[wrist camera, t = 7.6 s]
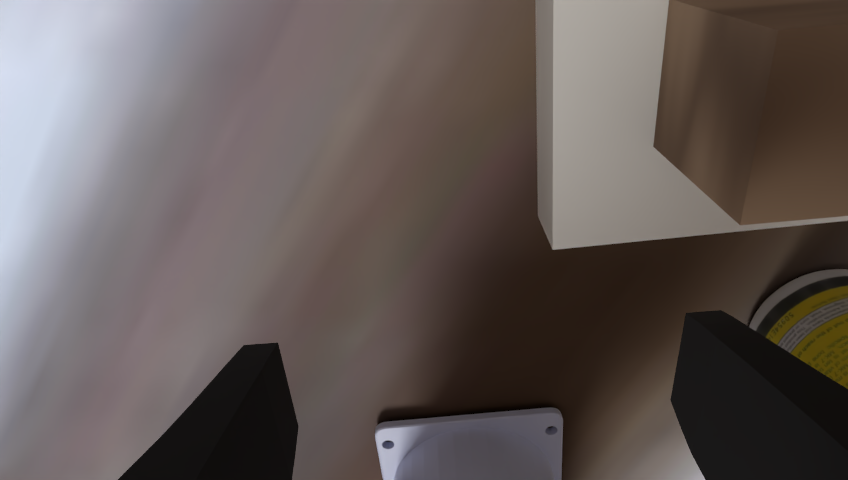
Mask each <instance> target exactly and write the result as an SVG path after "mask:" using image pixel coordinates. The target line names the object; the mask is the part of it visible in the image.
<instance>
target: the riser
mask: <svg viewBox="0 0 848 480" xmlns="http://www.w3.org/2000/svg"><path fill="white" fill-rule="evenodd" d="M668 6H669V0H536V94H537V190H538V218H539V220H540V222H541V225H542V227H543V229H544V231H545V234H546V236H547V238H548V241H549V243H550V245H551V247H552V250H557V249H567V248H577V247H587V246H597V245H607V244H617V243H628V242H638V241H648V240H658V239H668V238H678V237H688V236H698V235H708V234H718V233H728V232H739V231H749V230H759V229H769V228H779V227H789V226H799V225H809V224H819V223H829V222H839V221H848V216H841V217H829V218H818V219H807V220H795V221H784V222H773V223H761V224H750V225H739V224H738V223H737V222H736V221H735V220H733V219H732V218H731V217H730V216H729V215H728V214H727V213H726V212H725V211H724V210H722V209H721V208H720V207H719V206H718V205H717V204H716V203H715V202H714V201H713V200H711V199H710V198H709V197H708V196H707V195H706V194H705V193H704V192H703V191H702V190H700V189H699V188H698V187H697V186H696V185H695V184H694V183H693V182H692V181H690V180H689V179H688V178H687V177H686V176H685V175H684V174H683V173H682V172H681V171H679V170H678V169H677V168H676V167H675V166H674V165H673V164H672V163H671V162H670V161H668V160H667V159H666V158H665V157H664V156H663V155H662V154H661V153H660V152H659V151H657V150H656V149H655V148H654V147H653V144H654V135H655V126H656V117H657V107H658V98H659V89H660V80H661V70H662V61H663V52H664V43H665V33H666V24H667V15H668Z"/></svg>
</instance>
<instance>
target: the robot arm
mask: <svg viewBox="0 0 848 480" xmlns="http://www.w3.org/2000/svg"><path fill="white" fill-rule="evenodd" d="M671 402H672V405H673V408H674V410H675V413H676V416H677V418H678V421H679V424H680V426H681V429H682V432H683V434H684V436H685V439H686V441H687V444H688V446H689V449H690V451H691V453H692V455H693V457H694V459H695V461H696V463H697V465H698V467H699V469H700V470H701V472H702V474H703V476H704V478H705V480H848V389H847V388H845V387H844V386H842V385H840V384H839V383H837V382H835V381H834V380H832V379H830V378H829V377H827V376H826V375H824V374H822V373H821V372H819V371H818V370H816V369H814V368H813V367H811V366H810V365H808V364H806V363H805V362H803V361H802V360H800V359H799V358H797V357H795V356H794V355H792V354H791V353H789V352H788V351H786V350H784V349H783V348H781V347H780V346H778V345H777V344H775V343H773V342H772V341H770V340H769V339H767V338H766V337H764V336H763V335H761V334H759V333H758V332H756V331H755V330H753V329H751V328H750V327H748V326H747V325H745V324H743V323H742V322H740V321H739V320H737V319H735V318H734V317H732V316H730V315H728V314H727V313H725V312H723V311H721V310H720V311H706V312H693V313H686V316H685V322H684V327H683V333H682V339H681V344H680V350H679V356H678V361H677V367H676V373H675V378H674V384H673V390H672V395H671ZM550 426H553V427H552V428H548V427H550ZM297 434H298V423H297V419H296V415H295V411H294V407H293V403H292V399H291V395H290V390H289V386H288V382H287V378H286V374H285V370H284V366H283V362H282V358H281V354H280V350H279V345H278V343H268V344H254V345H244V346H243V347H242V348H241V349H240V350H239V351H238V352H237V353H236V354H235V355H234V357H233V358H232V359H231V360H230V361H229V362H228V363H227V364H226V365H225V367H224V368H223V369H222V370H221V371H220V372H219V373H218V374H217V376H216V377H215V378H214V379H213V380H212V381H211V382H210V384H209V385H208V386H207V387H206V388H205V389H204V390H203V391H202V392H201V394H200V395H199V396H198V397H197V398H196V399H195V400H194V401H193V403H192V404H191V405H190V406H189V407H188V408H187V409H186V410H185V411H184V412H183V413H182V415H181V416H180V417H179V418H178V419H177V420H176V421H175V422H174V423H173V424H172V425H171V426H170V428H169V429H168V430H167V431H166V432H165V433H164V434H163V435H162V436H161V437H160V438H159V439H158V440H157V441H156V442H155V443H154V444H153V445H152V446H151V447H150V448H149V449H148V450H147V451H146V452H145V453H144V454H143V455H142V456H141V457H140V458H139V459H138V460H137V461H136V462H135V463H134V464H133V465H132V466H131V467H130V468H129V469H128V470H127V471H126V472H125V473H124V474H123V475H122V476H121V477H120V478H119V479H118V480H292V474H293V467H294V459H295V451H296V442H297ZM375 439H376V445H377V450H378V455H379V461H380V466H381V471H382V477H383V480H562V442H563V418H562V415H561V412H560V411H559V410H558V409H556V408H551V407H549V408H537V409H526V410H514V411H503V412H491V413H480V414H468V415H457V416H445V417H434V418H422V419H411V420H399V421H388V422H382V423H380V424H378V425H377V427H376V429H375ZM387 440H389V441H391V442H386V441H387Z"/></svg>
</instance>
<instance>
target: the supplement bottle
mask: <svg viewBox="0 0 848 480" xmlns="http://www.w3.org/2000/svg"><path fill="white" fill-rule="evenodd" d="M749 327H750V328H751V329H753V330H755V331H756V332H758V333H759V334H761V335H763V336H764V337H766V338H767V339H769V340H770V341H772V342H773V343H775V344H777V345H778V346H780V347H781V348H783V349H784V350H786V351H788V352H789V353H791V354H792V355H794V356H795V357H797V358H799V359H800V360H802V361H803V362H805V363H806V364H808V365H810V366H811V367H813V368H814V369H816V370H818V371H819V372H821V373H822V374H824V375H826V376H827V377H829V378H830V379H832V380H834V381H835V382H837V383H839V384H840V385H842V386H844V387H845V388H847V389H848V269H831V270H823V271H817V272H813V273H810V274H806V275H803V276H801V277H799V278H796V279H794V280H792V281H790V282H789V283H787V284H785V285H784V286H782V287H781V288H779V289H778V290H776V291H775V292H774V293H773V294H771V295H770V296H769V297H768V298H767V299H766V300H765V301H764V302H763V304H762V305H761V306H760V307H759V309H758V310H757V312H756V313H755V315H754V317H753V319H752V321H751V323H750V325H749Z"/></svg>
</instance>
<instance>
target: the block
mask: <svg viewBox="0 0 848 480" xmlns="http://www.w3.org/2000/svg"><path fill="white" fill-rule="evenodd" d="M653 147H654V148H655V149H656V150H657V151H659V152H660V153H661V154H662V155H663V156H664V157H665V158H666V159H667V160H668V161H670V162H671V163H672V164H673V165H674V166H675V167H676V168H677V169H678V170H679V171H681V172H682V173H683V174H684V175H685V176H686V177H687V178H688V179H689V180H690V181H692V182H693V183H694V184H695V185H696V186H697V187H698V188H699V189H700V190H702V191H703V192H704V193H705V194H706V195H707V196H708V197H709V198H710V199H711V200H713V201H714V202H715V203H716V204H717V205H718V206H719V207H720V208H721V209H722V210H724V211H725V212H726V213H727V214H728V215H729V216H730V217H731V218H732V219H733V220H735V221H736V222H737V223H738V224H739V225H750V224H761V223H773V222H784V221H795V220H807V219H818V218H829V217H841V216H848V0H669V6H668V15H667V24H666V33H665V43H664V52H663V61H662V70H661V80H660V89H659V98H658V107H657V117H656V126H655V135H654V144H653Z"/></svg>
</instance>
